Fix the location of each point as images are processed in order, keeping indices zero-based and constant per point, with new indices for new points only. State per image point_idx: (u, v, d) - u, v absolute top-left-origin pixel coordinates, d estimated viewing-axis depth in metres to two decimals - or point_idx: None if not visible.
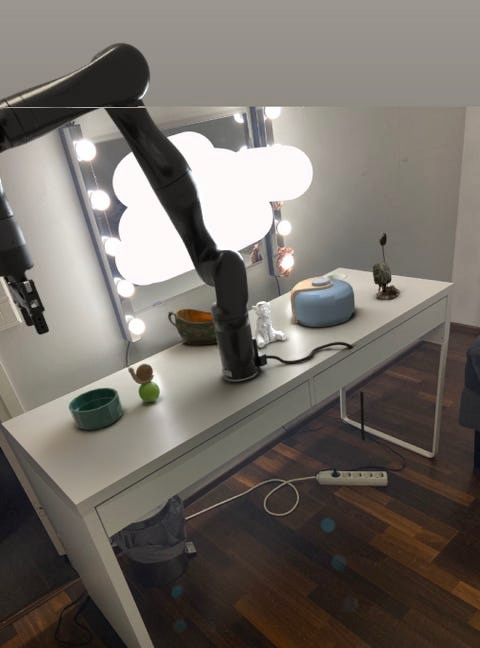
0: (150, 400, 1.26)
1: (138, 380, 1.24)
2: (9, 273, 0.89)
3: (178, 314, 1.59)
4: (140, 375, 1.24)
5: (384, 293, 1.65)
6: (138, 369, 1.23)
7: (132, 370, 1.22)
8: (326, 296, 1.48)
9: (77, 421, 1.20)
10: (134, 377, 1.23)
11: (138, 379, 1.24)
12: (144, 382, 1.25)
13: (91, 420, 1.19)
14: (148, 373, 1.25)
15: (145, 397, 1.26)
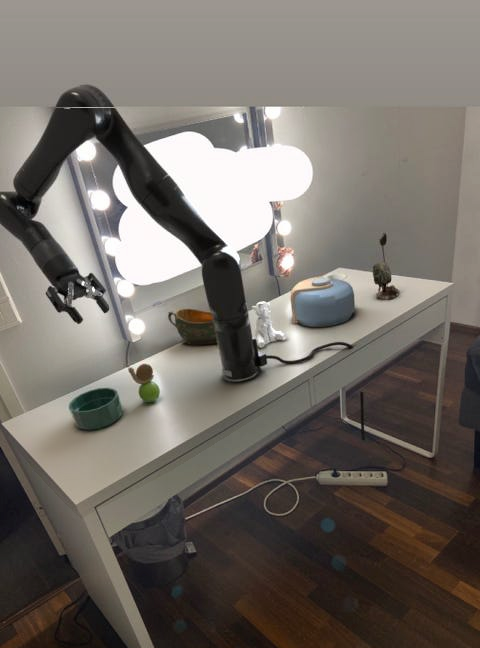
0: (150, 400, 1.26)
1: (138, 380, 1.24)
2: (52, 284, 1.21)
3: (178, 314, 1.59)
4: (140, 375, 1.24)
5: (384, 293, 1.65)
6: (138, 369, 1.23)
7: (132, 370, 1.22)
8: (326, 296, 1.48)
9: (77, 421, 1.20)
10: (134, 377, 1.23)
11: (138, 379, 1.24)
12: (144, 382, 1.25)
13: (91, 420, 1.19)
14: (148, 373, 1.25)
15: (145, 397, 1.26)
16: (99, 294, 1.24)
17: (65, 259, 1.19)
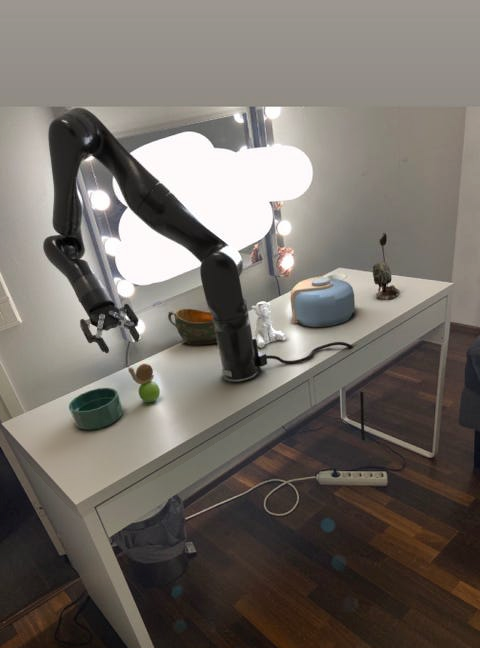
0: (150, 400, 1.26)
1: (138, 380, 1.24)
2: None
3: (178, 314, 1.59)
4: (140, 375, 1.24)
5: (384, 293, 1.65)
6: (138, 369, 1.23)
7: (132, 370, 1.22)
8: (326, 296, 1.48)
9: (77, 421, 1.20)
10: (134, 377, 1.23)
11: (138, 379, 1.24)
12: (144, 382, 1.25)
13: (91, 420, 1.19)
14: (148, 373, 1.25)
15: (145, 397, 1.26)
16: (130, 324, 1.29)
17: (98, 293, 1.27)
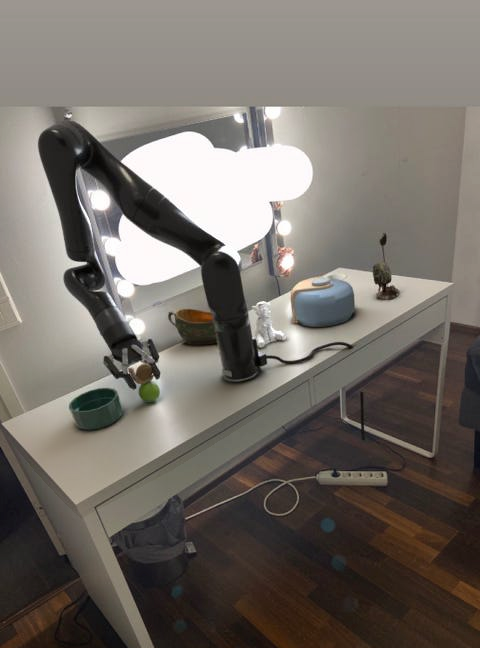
0: (150, 400, 1.26)
1: (138, 380, 1.24)
2: None
3: (178, 314, 1.59)
4: (140, 375, 1.24)
5: (384, 293, 1.65)
6: (138, 369, 1.23)
7: (132, 370, 1.22)
8: (326, 296, 1.48)
9: (77, 421, 1.20)
10: (134, 377, 1.23)
11: (138, 379, 1.24)
12: (144, 382, 1.25)
13: (91, 420, 1.19)
14: (148, 373, 1.25)
15: (145, 397, 1.26)
16: (151, 361, 1.25)
17: (121, 327, 1.24)
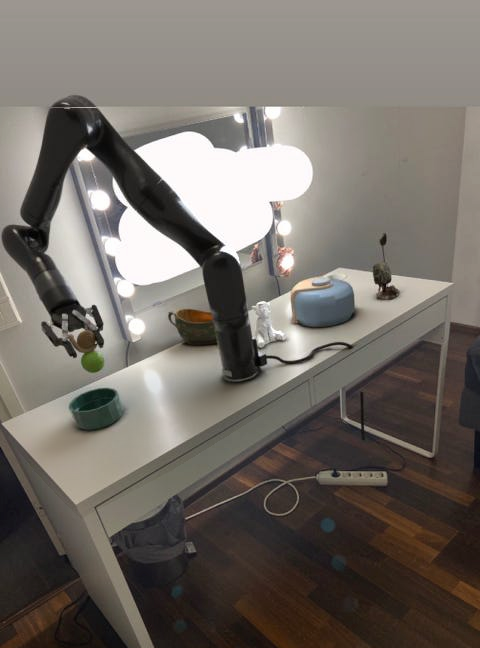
0: (93, 370, 1.18)
1: (79, 348, 1.15)
2: None
3: (178, 314, 1.59)
4: (81, 343, 1.15)
5: (384, 293, 1.65)
6: (79, 336, 1.15)
7: (71, 337, 1.13)
8: (326, 296, 1.48)
9: (77, 421, 1.20)
10: (74, 345, 1.14)
11: (79, 347, 1.15)
12: (86, 351, 1.16)
13: (91, 420, 1.19)
14: (90, 341, 1.16)
15: (87, 367, 1.17)
16: (94, 328, 1.17)
17: (61, 290, 1.15)
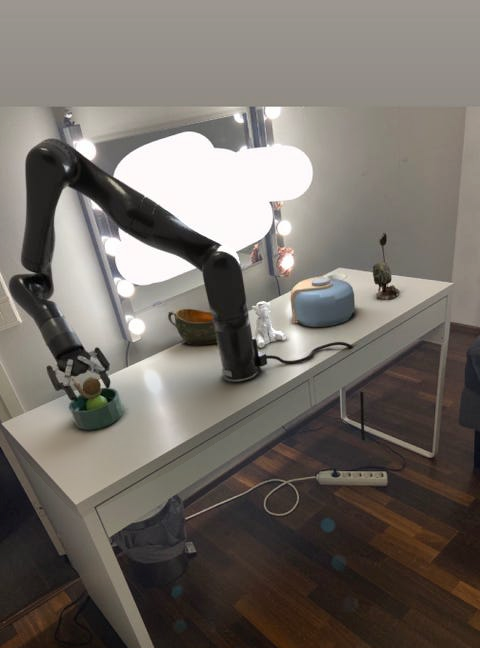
0: None
1: (85, 394, 1.21)
2: None
3: (178, 314, 1.59)
4: (86, 389, 1.20)
5: (384, 293, 1.65)
6: (84, 383, 1.20)
7: (77, 384, 1.18)
8: (326, 296, 1.48)
9: (77, 421, 1.20)
10: (80, 391, 1.20)
11: (85, 393, 1.20)
12: (91, 396, 1.22)
13: (91, 420, 1.19)
14: (95, 387, 1.21)
15: None
16: (101, 369, 1.22)
17: (66, 337, 1.20)
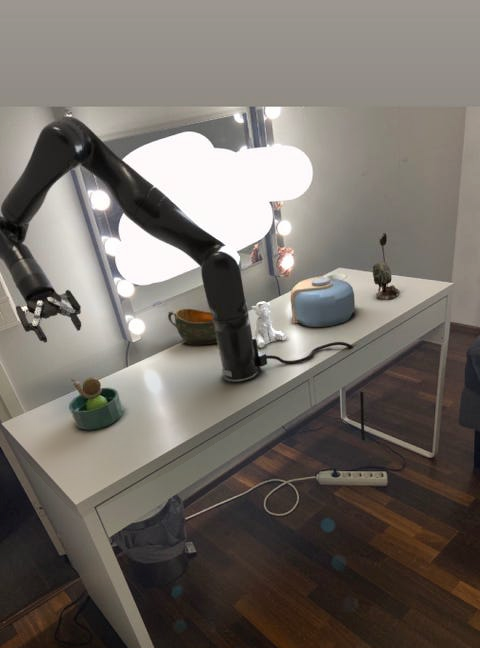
0: None
1: (85, 394, 1.21)
2: None
3: (178, 314, 1.59)
4: (86, 389, 1.20)
5: (384, 293, 1.65)
6: (84, 383, 1.20)
7: (77, 384, 1.18)
8: (326, 296, 1.48)
9: (77, 421, 1.20)
10: (80, 391, 1.20)
11: (85, 393, 1.20)
12: (91, 396, 1.22)
13: (91, 420, 1.19)
14: (95, 387, 1.21)
15: None
16: (71, 311, 1.21)
17: (36, 278, 1.19)
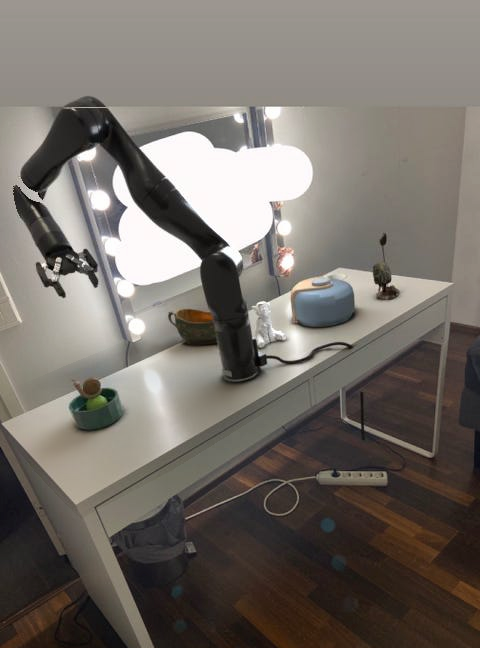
0: None
1: (85, 394, 1.21)
2: None
3: (178, 314, 1.59)
4: (86, 389, 1.20)
5: (384, 293, 1.65)
6: (84, 383, 1.20)
7: (77, 384, 1.18)
8: (326, 296, 1.48)
9: (77, 421, 1.20)
10: (80, 391, 1.20)
11: (85, 393, 1.20)
12: (91, 396, 1.22)
13: (91, 420, 1.19)
14: (95, 387, 1.21)
15: None
16: (89, 269, 1.25)
17: (55, 235, 1.22)
